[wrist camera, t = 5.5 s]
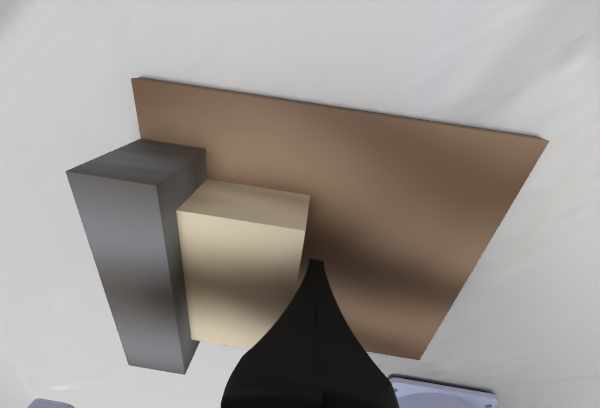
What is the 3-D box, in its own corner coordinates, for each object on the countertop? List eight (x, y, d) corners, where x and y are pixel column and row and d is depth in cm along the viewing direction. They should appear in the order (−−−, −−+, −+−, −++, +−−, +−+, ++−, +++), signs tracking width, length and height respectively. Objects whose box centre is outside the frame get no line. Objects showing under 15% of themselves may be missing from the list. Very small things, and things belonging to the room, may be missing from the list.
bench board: (416, 351, 18) (441, 433, 14) (175, 311, 19) (133, 380, 15) (538, 137, 11) (657, 181, 7) (139, 77, 11) (38, 88, 7)
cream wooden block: (291, 308, 17) (284, 355, 14) (212, 295, 17) (191, 339, 14) (310, 195, 13) (305, 230, 10) (207, 178, 13) (176, 210, 10)
